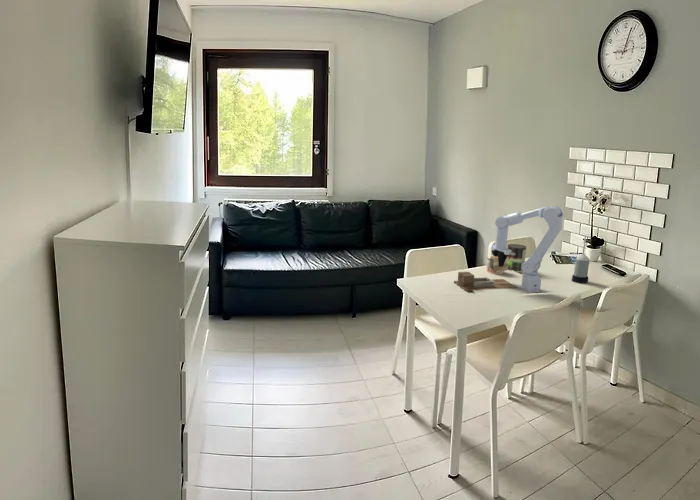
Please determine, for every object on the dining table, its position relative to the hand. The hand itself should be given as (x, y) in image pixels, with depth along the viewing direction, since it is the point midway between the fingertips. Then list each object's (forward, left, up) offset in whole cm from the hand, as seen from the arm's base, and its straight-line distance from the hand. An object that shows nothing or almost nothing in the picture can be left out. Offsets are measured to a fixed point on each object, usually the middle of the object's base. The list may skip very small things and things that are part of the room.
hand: (498, 265), depth 281 cm
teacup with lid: (+17, -8, -10) cm, 21 cm away
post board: (-4, +9, -10) cm, 14 cm away
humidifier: (-2, -47, -10) cm, 49 cm away
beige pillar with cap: (0, 0, -2) cm, 3 cm away
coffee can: (+24, -23, -10) cm, 35 cm away
